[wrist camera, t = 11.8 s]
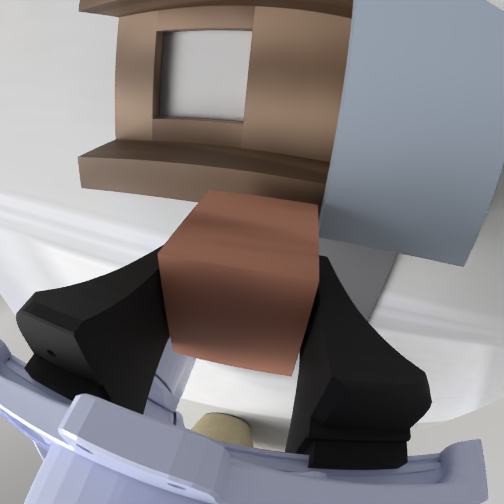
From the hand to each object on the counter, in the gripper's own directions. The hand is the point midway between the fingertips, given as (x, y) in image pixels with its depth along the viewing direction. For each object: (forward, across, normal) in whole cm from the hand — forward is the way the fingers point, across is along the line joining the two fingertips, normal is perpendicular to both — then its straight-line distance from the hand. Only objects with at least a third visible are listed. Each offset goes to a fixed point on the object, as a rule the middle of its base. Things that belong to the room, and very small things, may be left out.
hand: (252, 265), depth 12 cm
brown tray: (+9, 0, -7) cm, 11 cm away
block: (+2, 0, 0) cm, 2 cm away
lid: (+3, -7, -7) cm, 10 cm away
